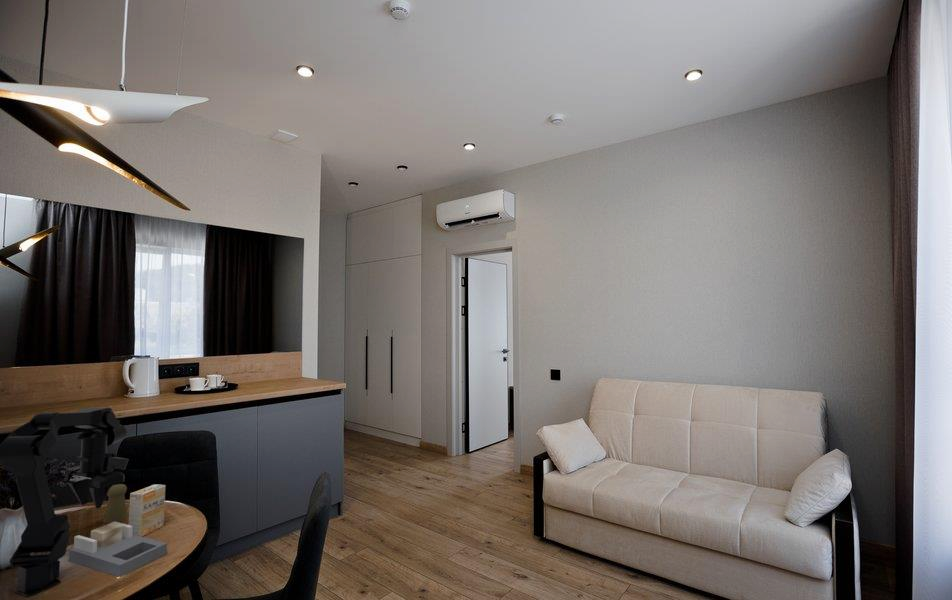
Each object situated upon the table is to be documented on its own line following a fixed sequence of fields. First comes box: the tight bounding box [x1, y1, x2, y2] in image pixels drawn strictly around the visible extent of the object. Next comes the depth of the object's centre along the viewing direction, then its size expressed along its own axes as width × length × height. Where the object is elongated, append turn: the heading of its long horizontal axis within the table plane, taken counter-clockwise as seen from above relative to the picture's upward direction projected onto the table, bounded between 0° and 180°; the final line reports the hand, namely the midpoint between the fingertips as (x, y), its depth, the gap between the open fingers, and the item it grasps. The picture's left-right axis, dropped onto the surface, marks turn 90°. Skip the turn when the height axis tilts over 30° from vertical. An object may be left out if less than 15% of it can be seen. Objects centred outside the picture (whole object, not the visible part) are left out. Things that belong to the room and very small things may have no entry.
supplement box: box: [128, 484, 166, 537], centre depth 138 cm, size 8×5×13 cm, turn 168°
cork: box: [103, 483, 128, 524], centre depth 146 cm, size 6×6×11 cm
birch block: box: [90, 523, 122, 549], centre depth 125 cm, size 5×5×4 cm
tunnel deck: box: [68, 521, 168, 578], centre depth 123 cm, size 12×21×6 cm, turn 70°
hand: (91, 506), depth 128 cm, fingers open, 6 cm apart
